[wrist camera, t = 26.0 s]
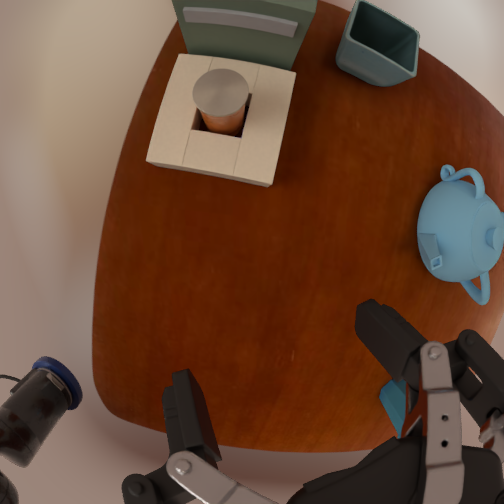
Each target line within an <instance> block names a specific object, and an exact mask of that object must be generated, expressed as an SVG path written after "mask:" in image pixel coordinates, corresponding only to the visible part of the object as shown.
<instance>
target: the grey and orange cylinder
mask: <svg viewBox="0 0 504 504" xmlns="http://www.w3.org/2000/svg"><path fill="white" fill-rule="evenodd" d="M248 94H249V88H248V84H247V82H246V80H245V79H244V77H243V76H242V75H240V74H239V73H237V72H236V71H233V70H230V69H224V68H223V69H214V70H211V71H208V72H206V73H205V74H203V75H202V76H201V77H200V78H199V79H198V80H197V81H196V83H195V84H194V87H193V91H192V97H193V101H194V103H195V105H196V107H197V108H198V109H199V110H200V112H201V115H202V117H203V120H204V122H205V125H206V127H207V130H208V131H209V132H211V133H216V134H222V135H228V136H235V135H236V134H238V133H239V132H240V130H241V129H242V127H243V123H244V113H245V103H246V101H247V99H248Z"/></svg>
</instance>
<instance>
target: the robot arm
mask: <svg viewBox="0 0 504 504" xmlns="http://www.w3.org/2000/svg"><path fill="white" fill-rule="evenodd" d="M355 331H356V334H357V336H358V338H359V339H360V340H361V341H362V342H363V343H364V345H365V346H366V347H367V348H368V349H369V350H370V352H371V353H372V354H373V355H374V356H375V357H376V359H377V360H378V361H379V362H380V363H381V365H382V366H383V367H384V368H385V369H386V370H387V372H388V373H389V374H390V375H391V376H392V378H393V379H394V380H395V381H396V382H397V383H398V382H399V381H401V380H402V379H405V380H406V381H407V382H406V404H405V419H404V423H403V426H402V430H401V438H399V439H396V437H395V436H393V437H392V438H390V439H389V440H387V441H386V442H384V443H383V444H381V445H379V446H378V447H376V448H375V449H373V450H372V451H371V452H370V453H369V454H368V455H367V456H366V457H365V458H364V459H363V460H362V461H361V462H359V463H358V464H357V465H356V466H354V467H351V468H348V469H344V470H340V471H336V472H332V473H328V474H325V475H323V476H321V477H319V478H316V479H314V480H312V481H309V482H307V483H305V484H303V488H302V489H300V490H299V491H297V492H296V493H295V494H294V495H293V496H292V497H291V498H290V499H289V501H288V502H287V504H504V479H503V473H502V463H503V462H504V360H503V359H502V358H501V357H500V356H499V354H498V353H497V352H496V351H495V350H494V349H493V348H492V347H491V346H490V345H489V344H488V343H487V342H486V341H485V340H484V339H483V338H482V337H481V336H480V335H479V334H478V333H477V332H475V331H473V330H470V329H467V330H463V331H462V332H461V333H460V334H459V336H458V338H457V340H454V341H451V342H448V343H445V344H442V343H440V342H437V341H430V342H429V341H428V340H426V339H425V338H424V337H423V336H422V335H421V334H420V333H419V332H418V331H417V330H416V329H415V328H414V327H413V326H412V325H411V324H410V323H409V322H406V320H405V319H404V318H403V317H402V316H400V314H399V313H398V312H397V311H396V310H395V309H393V308H391V307H389V306H387V305H385V304H383V305H379V304H378V303H377V302H376V301H375V300H374V299H369V300H367V301H365V302H363V303H361V304H359V305H357V310H356V320H355ZM469 366H470V368H471V369H472V370H473V371H474V372H475V373H476V374H477V375H478V377H479V378H480V379H481V381H482V383H481V382H480V381H479V380H478V379H477V378H476V376H475V375H474V374H473V373H472V372H471V371H470V369H469ZM0 378H6V379H11V380H14V381H17V382H18V383H17V384H16V385H15V386H14V388H12V389H11V390H10V394H11V396H10V397H9V399H8V400H7V401H6V402H5V403H4V404H3V405H2V406H1V407H0V455H1V456H3V457H4V458H6V459H7V460H9V461H10V462H12V463H14V464H15V465H17V466H20V467H23V468H25V467H27V466H28V465H29V464H30V463H31V461H32V460H33V458H34V457H35V455H36V453H37V452H38V450H39V449H40V447H41V446H42V444H43V443H44V441H45V440H46V438H47V437H48V436H49V434H50V433H51V431H52V429H53V428H54V427H55V425H56V424H57V422H58V421H59V420H60V418H61V417H62V416H63V414H64V413H65V411H66V410H67V409H68V408H69V407H70V405H71V404H72V403H73V394H72V391H71V389H70V387H69V386H68V384H67V383H66V382H65V380H64V379H63V378H62V377H61V376H60V375H59V374H58V373H56V372H55V371H53V370H52V369H50V368H47V367H40V368H37V367H34V368H33V369H32V370H31V371H30V372H29V373H28V374H27V375H26V376H25V377H24V378H23V379H22V380H20V379H17V378H15V377H11V376H7V375H0ZM172 379H173V386H169V387H165V390H164V393H163V396H162V404H163V409H164V418H165V425H166V431H167V437H168V443H169V449H170V454H169V458H168V460H167V462H166V463H165V464H164V465H163V466H162V467H161V468H159V469H157V470H155V471H153V472H151V473H149V474H147V475H145V476H144V475H141V474H131V475H129V476H127V477H126V478H125V479H124V481H123V483H122V493H123V498H124V502H125V504H186V503H188V502H190V501H192V500H194V499H196V498H198V499H199V500H201V501H202V502H204V503H205V504H279V503H277V502H274V501H272V500H270V499H268V498H266V497H264V496H262V495H261V494H259V493H257V492H255V491H253V490H251V489H249V488H248V487H246V486H244V485H242V484H240V483H238V482H236V481H235V480H233V479H232V478H230V477H228V476H227V475H225V474H223V473H222V472H220V471H219V470H218V467H217V464H216V462H218V461H221V460H222V458H221V455H220V451H219V448H218V445H217V441H216V438H215V434H214V431H213V427H212V424H211V420H210V417H209V413H208V409H207V405H206V402H205V398H204V395H203V392H202V390H201V388H200V386H199V384H198V382H197V381H196V379H195V378H194V376H193V374H192V373H191V371H190V370H189V369H185V370H181V371H178V372H174V373H172ZM460 402H461V403H462V404H463V406H464V407H465V408H466V410H467V411H468V412H469V413H470V415H471V416H472V417H473V419H474V420H475V421H476V423H477V424H478V425H479V427H480V435H479V441H480V442H482V443H483V448H479V447H471V446H463V445H462V430H461V409H460ZM0 504H19V497H18V492H17V489H16V487H15V486H14V484H13V483H12V482H11V481H10V480H9V479H8V477H7V476H5V474H4V473H3V472H2V471H1V470H0Z"/></svg>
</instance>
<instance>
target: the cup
mask: <svg viewBox="0 0 504 504" xmlns="http://www.w3.org/2000/svg"><path fill="white" fill-rule="evenodd" d="M379 398H380V400H381V402H382V404H383V406H384V408H385V410H386V412H387V414H388V415H389V417H390V419H391V421H392V423H393V425H394V427H395V429H396V431H397V433H398V439H399V438H401V430H402V426H403V423H404V419H405V404H406V381H404V380H403V379H402V380H401V381H399V382H398V383H397V382H396V381H395V380H394V379H392V380H390V381H389V382H388V383H387V384H386V385H385V386H384V387H383V388H382V389H381V393H380V396H379Z"/></svg>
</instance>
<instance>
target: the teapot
mask: <svg viewBox="0 0 504 504" xmlns="http://www.w3.org/2000/svg"><path fill="white" fill-rule="evenodd" d="M449 172H450V176H449ZM440 174H441V178H442V180H443V181H441V182H440V183H438V184H437V185H435V186H434V187H433V188H432V189H431V190H430V191H429V193H428V194H427V196H426V197H425V199H424V201H423V204H422V206H421V209H420V213H419V217H418V224H417V238H418V246H419V251H420V254H421V257H422V260H423V262H424V264H425V266H426V267H427V269H428V270H429V271H430V273H431V274H432V275H434V276H435V277H436V278H439V279H441V280H444V281H449V282H460V283H461V284H462V286H463V287H464V288H465V290H466V291H467V292H468V294H469V295H470V296H471V298H472V299H473V300H474V301H475V302H477V303H478V304H480V305H485V304H486V303H487V302H488V301H489V297H490V281H489V274H488V270H490V269H491V268H492V267H493V266H494V265H495V264H496V262H497V261H498V259H499V257H500V255H501V252H502V248H503V244H504V212H500V210H499V208H498V207H497V206H496V204H495V203H494V202H493V201H492V200H491V199H490V198H489V197H488V196H487V195H486V194H485V193H484V192H485V187H484V182H483V179H482V177H481V175H480V174H479V173H478V171H476V170H475V169H473V168H464V169H462V170H459V171H458V172H456V173H455V169H454V168H453V167H452V166H451V165H444V166H443V167H442V168H441V173H440ZM466 175H470V176H471V177H472V178H473V180H474V182H475V186H474V185H473V184H471V183H468V182H465V181H462V180H458V179H460V178H462V177H464V176H466ZM478 276H480V280H481V290H479V289H478V288H477V287H476V286H475V285H474V284H473V283H472V282H471V281H470V280H471V279H474V278H476V277H478Z"/></svg>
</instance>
